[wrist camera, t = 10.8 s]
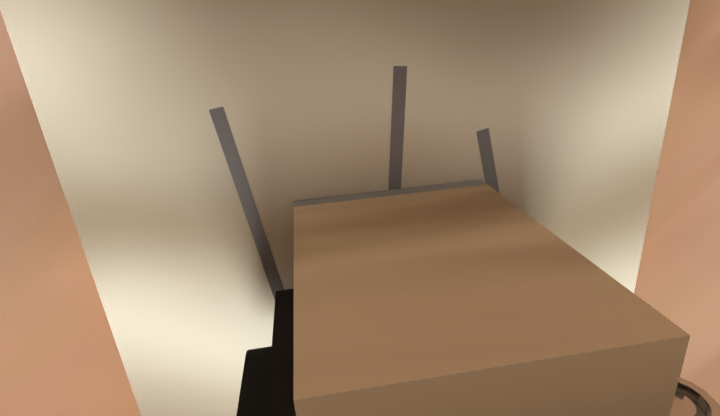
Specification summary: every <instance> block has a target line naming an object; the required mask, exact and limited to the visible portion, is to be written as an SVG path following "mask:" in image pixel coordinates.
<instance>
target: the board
mask: <svg viewBox="0 0 720 416" xmlns="http://www.w3.org/2000/svg"><path fill="white" fill-rule="evenodd" d="M689 3H690V0H0V11H1V14H2V16H3V19H4V22H5V25H6V28H7V31H8V34H9V37H10V39H11V42H12V45H13V48H14V51H15V54H16V57H17V60H18V63H19V65H20V68H21V71H22V74H23V77H24V80H25V83H26V86H27V88H28V91H29V94H30V97H31V100H32V103H33V106H34V109H35V111H36V114H37V117H38V120H39V123H40V126H41V129H42V132H43V134H44V137H45V140H46V143H47V146H48V149H49V152H50V155H51V157H52V160H53V163H54V166H55V169H56V172H57V175H58V178H59V181H60V183H61V186H62V189H63V192H64V195H65V198H66V201H67V204H68V206H69V209H70V212H71V215H72V218H73V221H74V224H75V227H76V229H77V232H78V235H79V238H80V241H81V244H82V247H83V250H84V252H85V255H86V258H87V261H88V264H89V267H90V270H91V273H92V276H93V278H94V281H95V284H96V287H97V290H98V293H99V296H100V299H101V301H102V304H103V307H104V310H105V313H106V316H107V319H108V322H109V324H110V327H111V330H112V333H113V336H114V339H115V342H116V345H117V347H118V350H119V353H120V356H121V359H122V362H123V365H124V368H125V371H126V373H127V376H128V379H129V382H130V385H131V388H132V391H133V394H134V396H135V399H136V402H137V405H138V408H139V411H140V414H141V416H236V415H237V408H238V402H239V395H240V389H241V382H242V375H243V369H244V362H245V356H246V352H247V350H250V349H256V348H263V347H270V346H272V336H273V322H274V308H275V294H276V291H279V290H286V289H293V288H294V201H298V200H306V199H315V198H324V197H332V196H341V195H350V194H358V193H367V192H376V191H384V190H393V189H402V188H410V187H419V186H428V185H436V184H445V183H454V182H462V181H471V180H480V179H481V180H483V181H484V182H485V183H487V184H488V185H489V186H491V187H492V188H493V189H495V190H496V191H497V192H499V193H500V194H501V195H503V196H504V197H505V198H507V199H508V200H509V201H511V202H512V203H513V204H515V205H516V206H517V207H519V208H520V209H521V210H523V211H524V212H525V213H527V214H528V215H529V216H531V217H532V218H533V219H535V220H536V221H537V222H539V223H540V224H541V225H543V226H544V227H545V228H547V229H548V230H549V231H551V232H552V233H553V234H555V235H556V236H558V237H559V238H560V239H562V240H563V241H564V242H566V243H567V244H568V245H570V246H571V247H572V248H574V249H575V250H576V251H578V252H579V253H580V254H582V255H583V256H584V257H586V258H587V259H588V260H590V261H591V262H592V263H594V264H595V265H596V266H598V267H599V268H600V269H602V270H603V271H604V272H606V273H607V274H608V275H610V276H611V277H612V278H614V279H615V280H616V281H618V282H619V283H620V284H622V285H623V286H624V287H626V288H627V289H628V290H630V291H631V292H632V293H634V290H635V285H636V279H637V274H638V269H639V264H640V259H641V253H642V248H643V243H644V238H645V233H646V227H647V222H648V217H649V212H650V207H651V201H652V196H653V191H654V186H655V180H656V175H657V170H658V165H659V160H660V154H661V149H662V144H663V139H664V134H665V128H666V123H667V118H668V113H669V108H670V102H671V97H672V92H673V87H674V81H675V76H676V71H677V66H678V61H679V55H680V50H681V45H682V40H683V35H684V29H685V24H686V19H687V14H688V9H689Z"/></svg>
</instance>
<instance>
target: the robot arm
mask: <svg viewBox="0 0 720 416" xmlns="http://www.w3.org/2000/svg"><path fill="white" fill-rule="evenodd" d="M293 383H294V288H293V289H286V290H279V291H276V294H275V308H274V322H273V336H272V346H270V347H263V348H256V349H250V350H247V352H246V356H245V362H244V369H243V375H242V382H241V389H240V395H239V402H238V408H237V415H236V416H296V412H295V406H294V400H293ZM670 416H720V406H719V404H718V403H717V402H716V401H715V400H714V399H713V398H712V397H711V396H710V395H709V394H708V393H707V392H706V391H704V390H703V389H701V388H700V387H698V386H696V385H695V384H693V383H691V382H689V381H687V380H685V379H682V378H680V377H679V381H678V385H677V389H676V393H675V396H674V400H673V404H672V408H671V412H670Z"/></svg>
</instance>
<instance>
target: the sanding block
mask: <svg viewBox="0 0 720 416" xmlns="http://www.w3.org/2000/svg"><path fill="white" fill-rule="evenodd" d="M689 338H690V335H689V334H687V333H686V332H685V331H683V330H682V329H681V328H679V327H678V326H677V325H675V324H674V323H673V322H671V321H670V320H669V319H667V318H666V317H665V316H663V315H662V314H661V313H659V312H658V311H657V310H655V309H654V308H653V307H651V306H650V305H649V304H647V303H646V302H645V301H643V300H642V299H641V298H639V297H638V296H636V295H635V294H634V293H632V292H631V291H630V290H628V289H627V288H626V287H624V286H623V285H622V284H620V283H619V282H618V281H616V280H615V279H614V278H612V277H611V276H610V275H608V274H607V273H606V272H604V271H603V270H602V269H600V268H599V267H598V266H596V265H595V264H594V263H592V262H591V261H590V260H588V259H587V258H586V257H584V256H583V255H582V254H580V253H579V252H578V251H576V250H575V249H574V248H572V247H571V246H570V245H568V244H567V243H566V242H564V241H563V240H562V239H560V238H559V237H558V236H556V235H555V234H553V233H552V232H551V231H549V230H548V229H547V228H545V227H544V226H543V225H541V224H540V223H539V222H537V221H536V220H535V219H533V218H532V217H531V216H529V215H528V214H527V213H525V212H524V211H523V210H521V209H520V208H519V207H517V206H516V205H515V204H513V203H512V202H511V201H509V200H508V199H507V198H505V197H504V196H503V195H501V194H500V193H499V192H497V191H496V190H495V189H493V188H492V187H491V186H489V185H488V184H487V183H485V182H484V181H483V180H481V179H480V180H471V181H462V182H454V183H445V184H436V185H428V186H419V187H410V188H402V189H393V190H384V191H376V192H367V193H358V194H350V195H341V196H332V197H324V198H315V199H306V200H298V201H294V383H293V400H294V406H295V412H296V416H670V412H671V408H672V404H673V400H674V396H675V393H676V389H677V385H678V381H679V377H680V373H681V369H682V365H683V361H684V357H685V353H686V349H687V345H688V342H689Z"/></svg>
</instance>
